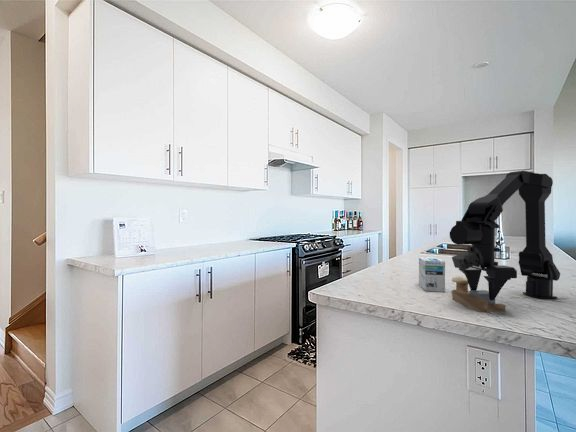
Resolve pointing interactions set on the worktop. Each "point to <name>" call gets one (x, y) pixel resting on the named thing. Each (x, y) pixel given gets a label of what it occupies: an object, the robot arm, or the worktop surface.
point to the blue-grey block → (482, 295)
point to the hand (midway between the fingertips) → (482, 296)
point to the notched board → (475, 302)
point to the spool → (461, 284)
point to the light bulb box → (432, 274)
